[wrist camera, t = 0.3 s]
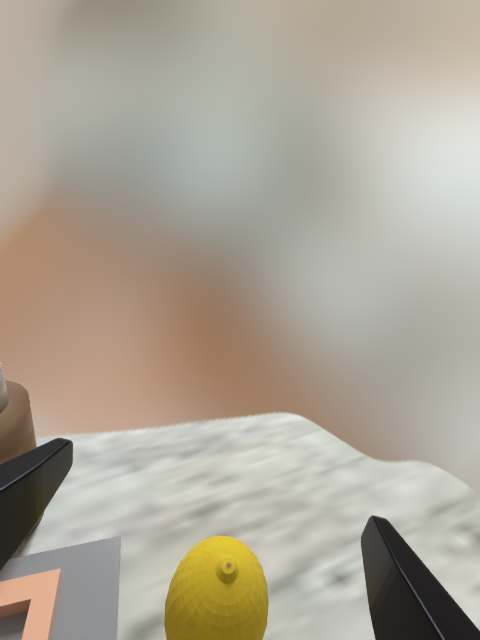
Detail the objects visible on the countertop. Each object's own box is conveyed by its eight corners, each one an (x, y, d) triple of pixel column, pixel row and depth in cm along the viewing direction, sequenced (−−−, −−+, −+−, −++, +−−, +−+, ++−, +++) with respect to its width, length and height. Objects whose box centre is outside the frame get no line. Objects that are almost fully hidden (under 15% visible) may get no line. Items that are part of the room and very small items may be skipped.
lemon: (171, 737, 15) (188, 673, 11) (152, 602, 19) (160, 526, 16) (268, 676, 17) (306, 608, 14) (231, 568, 22) (253, 496, 18)
